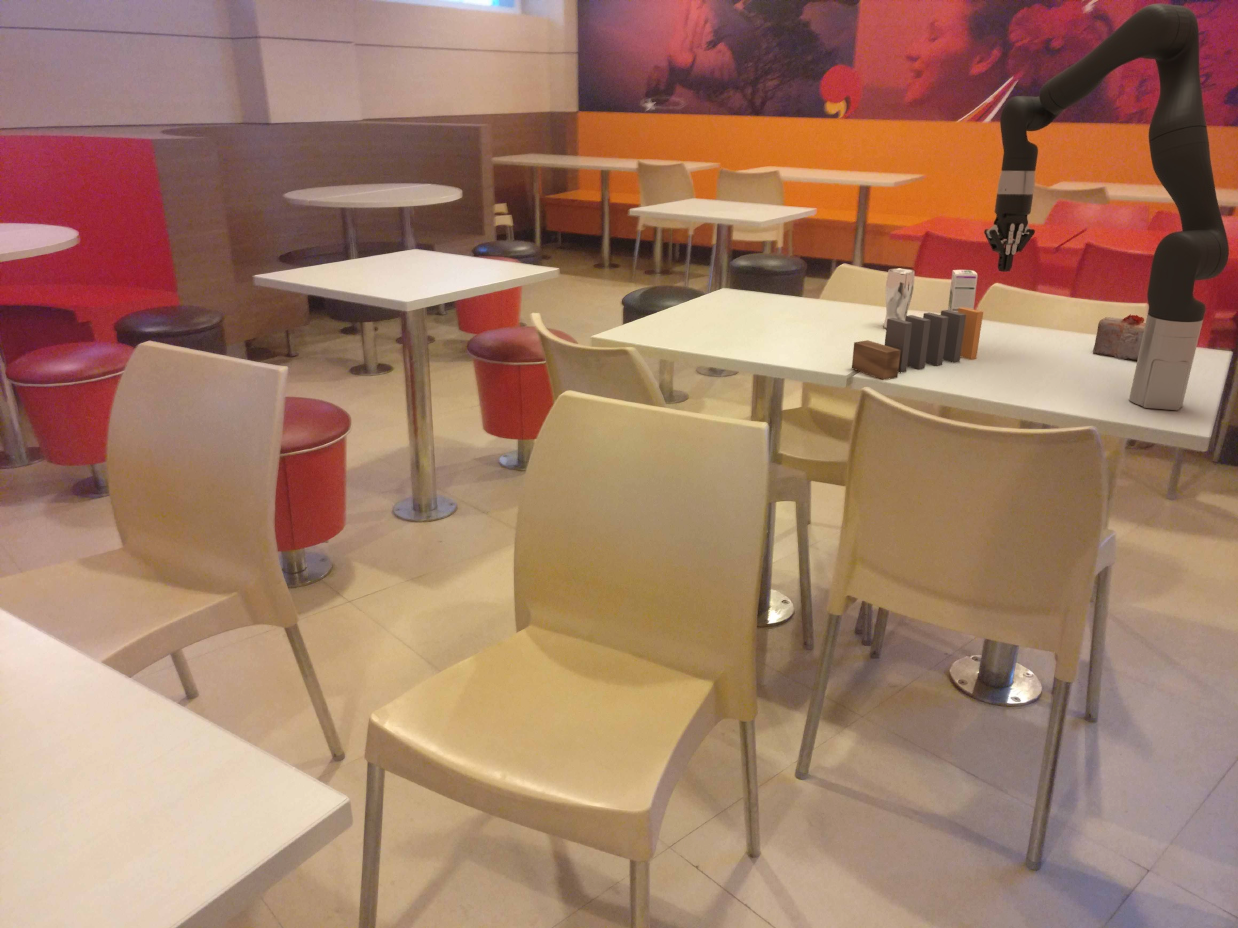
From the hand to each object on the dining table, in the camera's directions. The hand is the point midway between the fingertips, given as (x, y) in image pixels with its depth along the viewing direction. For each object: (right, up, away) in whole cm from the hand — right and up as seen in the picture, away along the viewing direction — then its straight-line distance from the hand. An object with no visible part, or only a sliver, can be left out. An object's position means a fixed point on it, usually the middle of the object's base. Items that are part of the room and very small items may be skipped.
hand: (1004, 271), depth 206 cm
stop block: (-32, -24, -8) cm, 41 cm away
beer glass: (-16, -9, +31) cm, 36 cm away
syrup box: (+1, -8, +32) cm, 33 cm away
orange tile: (-8, -19, +4) cm, 21 cm away
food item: (+30, -19, +4) cm, 36 cm away
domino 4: (-12, -20, +2) cm, 24 cm away
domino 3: (-17, -21, -1) cm, 27 cm away
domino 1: (-27, -23, -5) cm, 36 cm away
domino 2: (-22, -22, -3) cm, 31 cm away
